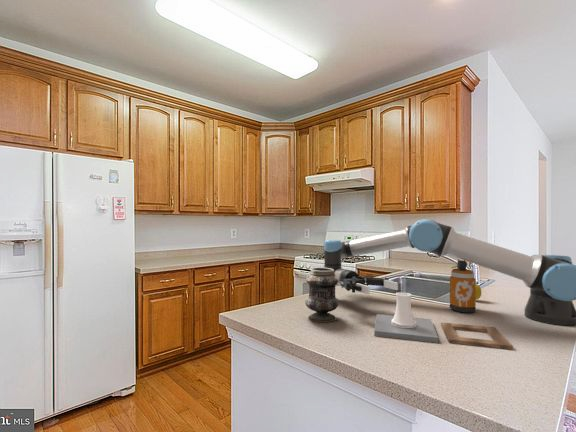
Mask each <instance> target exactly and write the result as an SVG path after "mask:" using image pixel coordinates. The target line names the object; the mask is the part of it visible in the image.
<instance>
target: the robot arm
mask: <svg viewBox="0 0 576 432" xmlns="http://www.w3.org/2000/svg"><path fill="white" fill-rule="evenodd" d="M407 247H409V248H411V249H417V250H418V251H420V252H428V253H431V254H434V255H436V256H439V257H444V256H448V255H449V256H451V257H455V258H458V259H459V260H462V261H464V260H465V261H466V262H467V263H472V264H475V265H477V266H481V267H484V268H487V269H489V270H492V271H495V272H498V273H500V274H504V275H506V276H509V277H512V278H515V279H517V280H521V281H522V282H523V283H524V284H525V286H526V287H527V288H530V289H529V291H530V292H529V297H528V300H527V303H526V305H525V307H524V316H525V317H526V318H527V319H531V320H533V321H537V322H541V323H545V324H550V325H551V324H552V325H556V326H557V325H559V326H576V307H575V304H574V302H573V301H576V265H575V264H573V261H572V258H571V257H570V256H569V255H561V254H560V255H559V254H532V255H527V254H523V253H521V252H518V251H516V250H512V249H509V248H505V247H502V246H499V245H497V244H493V243H490V242H485V241H483V240H481V239H477V238H474V237H471V236H467V235H465V234H461V233H458V232H457V231H455V229H454V227H453V226H450V225H447V224H443V223H440V222H437V221H435V220H432V219H427V218H426V219H425V218H424V219H419V220H417V221H416V222H414V223H413V224H412V225H408V226H406V227H405V228H404V229H400V230H399V229H398V230H394V231H390V232H385V233H380V234H375V235H371V236H365V237H362V238H361V237H360V238H356V239H352V240H347V241H341V240H340V239H326V240H324V246H323V250H324V251H323V254H324V256H323V257H324V265H323V268H331V269H334V273H335V275H336V276H337V277H338V279H339V281H338V284H337V285H336V286H338V287H340V288H341V289H343V288H344V289H345V290H346V291H348V292H349V291H351V292H352V293H354V294H355V293H356V292H359V293H361V294H365V295H370V294H371V292H370V291H371V286H376V287H383V288H386V289H389V290H393V291H394V290H395V291H399V282H396V281H392V280H389V278H387V277H374V276H362V275H359V274H358V273H357V272H356V271H354V270H350V269H346V268H342V259H345V258H351V257H356V256H362V255H367V254H374V253H379V252H380V253H381V252H385V251H391V250H395V249H402V248H407Z"/></svg>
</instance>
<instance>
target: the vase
mask: <svg viewBox="0 0 576 432" xmlns="http://www.w3.org/2000/svg"><path fill="white" fill-rule="evenodd" d="M395 296H396V299H395V300H396V308H395V312H394V315H393V316H394V318H393V319H392V324H393V325H394V326H397V327H401V328H414V327H416V322H415V321H414V318H415V317H413V312H412V305H411V303H412V302H411V301H412V294H411V293H409V292H403V291H402V292H395Z"/></svg>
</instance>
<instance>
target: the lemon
mask: <svg viewBox="0 0 576 432" xmlns="http://www.w3.org/2000/svg"><path fill="white" fill-rule="evenodd" d="M481 297H482V288H481V286H480V285H479V284H477V283H476V301H477V300H479V299H480V298H481Z"/></svg>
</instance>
